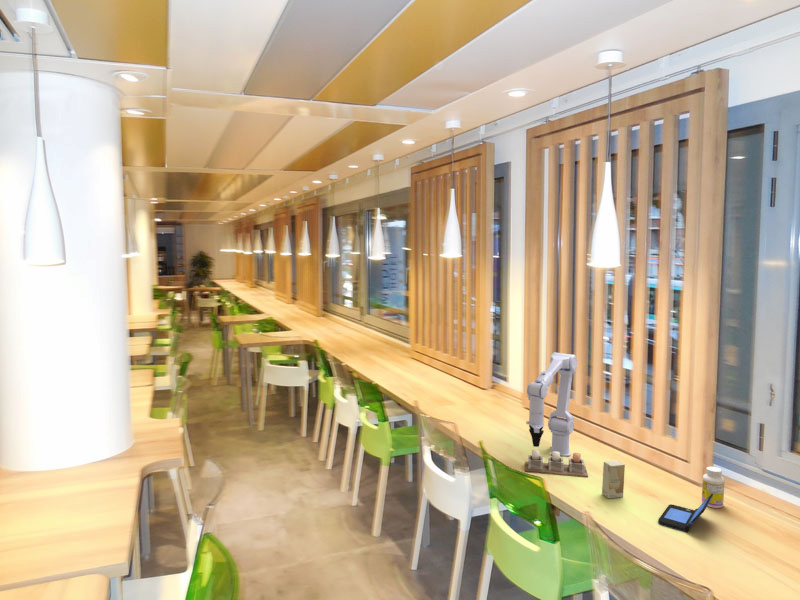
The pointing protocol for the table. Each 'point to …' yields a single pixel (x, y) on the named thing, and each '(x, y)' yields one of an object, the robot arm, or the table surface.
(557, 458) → the plug
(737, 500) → the table surface
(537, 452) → the plug
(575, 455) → the terracotta plug
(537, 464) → the board
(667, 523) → the handheld game console
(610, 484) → the skincare box
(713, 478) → the supplement bottle
